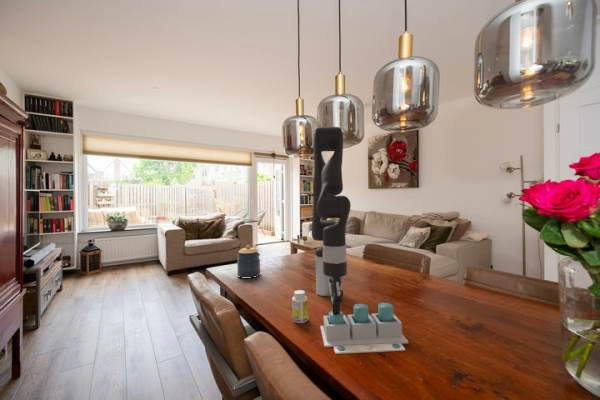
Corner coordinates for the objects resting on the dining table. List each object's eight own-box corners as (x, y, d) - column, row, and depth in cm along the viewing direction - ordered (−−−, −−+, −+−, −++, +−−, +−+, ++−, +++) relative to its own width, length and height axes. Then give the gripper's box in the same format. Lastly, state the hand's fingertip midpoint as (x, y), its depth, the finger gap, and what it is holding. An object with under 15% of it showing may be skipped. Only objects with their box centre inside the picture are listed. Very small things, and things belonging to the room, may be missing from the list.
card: (333, 347, 79) (333, 345, 79) (400, 344, 80) (400, 342, 80) (335, 353, 76) (335, 351, 76) (405, 350, 77) (405, 348, 77)
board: (320, 327, 91) (319, 312, 91) (393, 324, 92) (392, 309, 92) (324, 347, 79) (324, 330, 79) (408, 343, 80) (408, 326, 80)
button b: (352, 322, 88) (351, 304, 88) (366, 321, 88) (365, 303, 88) (355, 329, 84) (355, 310, 83) (370, 328, 84) (370, 309, 84)
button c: (376, 321, 88) (376, 303, 88) (390, 320, 89) (390, 302, 88) (381, 328, 84) (381, 308, 84) (396, 327, 84) (395, 308, 84)
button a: (328, 329, 88) (327, 310, 88) (342, 328, 88) (341, 310, 88) (330, 336, 83) (329, 317, 83) (345, 335, 83) (344, 316, 83)
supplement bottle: (307, 316, 100) (306, 288, 100) (309, 323, 95) (308, 294, 95) (292, 317, 100) (291, 289, 100) (293, 324, 94) (292, 295, 94)
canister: (233, 278, 150) (232, 246, 150) (244, 271, 162) (243, 242, 162) (254, 279, 146) (253, 247, 146) (264, 273, 158) (263, 243, 158)
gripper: (320, 255, 92) (321, 306, 92) (325, 264, 78) (327, 324, 79) (342, 254, 92) (343, 305, 92) (351, 263, 79) (352, 323, 79)
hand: (336, 313), depth 85 cm, fingers closed
